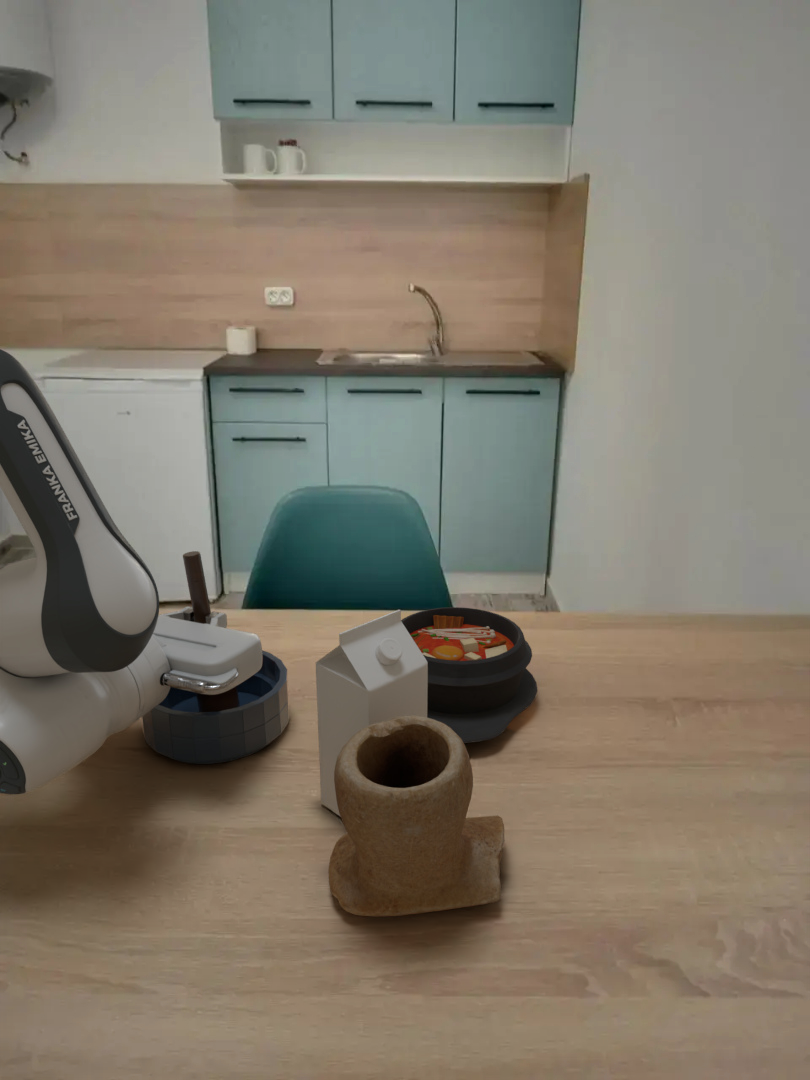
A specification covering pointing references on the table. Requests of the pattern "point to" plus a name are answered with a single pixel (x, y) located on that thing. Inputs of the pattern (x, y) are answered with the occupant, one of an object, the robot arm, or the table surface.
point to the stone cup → (411, 823)
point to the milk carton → (366, 688)
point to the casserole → (473, 669)
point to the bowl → (222, 719)
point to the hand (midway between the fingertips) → (207, 616)
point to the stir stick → (200, 611)
